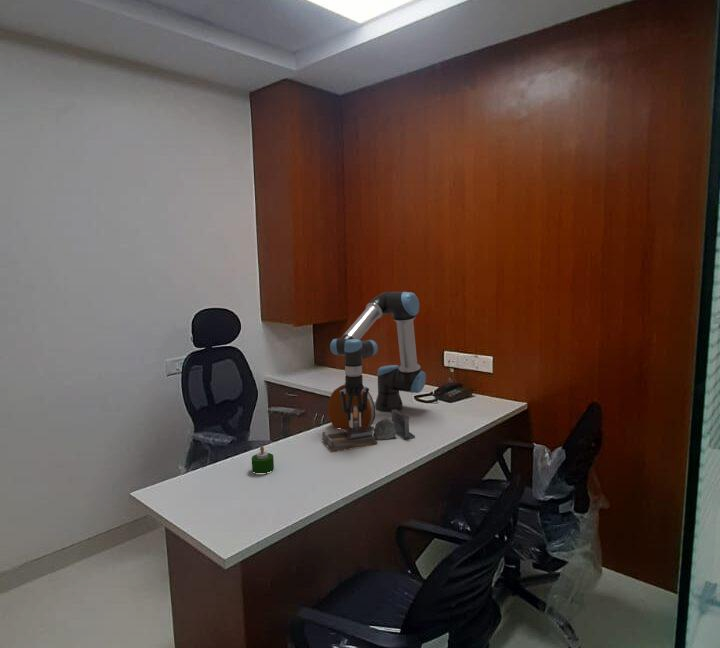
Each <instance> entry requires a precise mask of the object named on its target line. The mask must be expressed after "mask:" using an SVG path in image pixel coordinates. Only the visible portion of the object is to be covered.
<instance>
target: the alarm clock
mask: <svg viewBox="0 0 720 648" xmlns="http://www.w3.org/2000/svg"><path fill="white" fill-rule="evenodd" d="M345 386H346V382H345V381H344V384H342V385H340V386H339V387H337V388H336V389H334V390H333V391H332V393H331V394H330V396H329V398H328V399H329V400H328V403H327V404H328V405H327V407H328V408H327V413H328V416H329V417H328V418H329V421H330V423H331V425H332V426H333V427H334V429H336V428H341V429H340V430H342V429H347V428H351V427H350V426H349V420H348V419H347V413H345V412H344V411H343V409H342V399H341V394H340V392H339V391H340V390H343V389H345ZM360 394H361V402H362V405H363V390H362V391H361V393H360ZM345 397H346V407H347V403H348V393H347V392H346V394H345ZM374 402H375V401H374V399H373V396H372V395H371V393H370V390H369V391H368V395H367V409H366V410H364V412H363V419H361V426H367V427H368V428H370V427H371V426H372V425H373V424H374V422H375V418H376V408H375V403H374ZM352 406H358V403H357V398H356V395H355V396H353V400H352ZM351 409H352V407H351ZM358 411H359V408H358ZM358 427H359V426H358Z"/></svg>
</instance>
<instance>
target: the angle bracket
mask: <svg viewBox="0 0 720 648" xmlns="http://www.w3.org/2000/svg"><path fill="white" fill-rule="evenodd" d="M391 420H392V421H393V422H394V424H395V426H396V427H395V428H396V434H397V435H398V436H400V437H401V438H402V439H404V440H405V441H406V440H411V439H415V438H416V435H414V434H413V433H412V432H410V418H409V416H408V415H405V414H404V413H402V412H401V411H400V410H396V409H393V410H392V411H391Z"/></svg>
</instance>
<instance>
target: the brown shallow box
mask: <svg viewBox="0 0 720 648" xmlns="http://www.w3.org/2000/svg"><path fill="white" fill-rule="evenodd" d="M321 435H322V437H321V438H322V439H321V440H323V441H322V442H323V444H324V443H325V444H326V445H327V446H328V447H327V446H326V445H325V444H324V445H325V446H326V447H327V448H328V449H329V451H330V450H331V451H333V452H338V450H339V451H344V449H346V450H350V448H352V449H356V448H362V447H363V448H364V447H370V446H375V445H378V441H377V439H376V438H375V437H374V436H373V437H367V438H360V439H354V440H348V439H347V438H346V437H345V431H340V432H333V433H329V434H328V433H326V431H322V434H321ZM331 451H330V452H331Z"/></svg>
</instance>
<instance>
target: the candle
mask: <svg viewBox="0 0 720 648" xmlns="http://www.w3.org/2000/svg"><path fill="white" fill-rule="evenodd" d="M259 449H260V451H259V452H257V453H256V454H254V455H252V456H251V470H252V471H253V472H255V473H267V472H270V471H272V470H273V469H274V470H275V465H274V464H275V463H274V462H275V461H274V455H273V453H270V452H268V451H264V450H265V447H264V446H263V445H260V448H259ZM252 471H251V472H252ZM253 472H252V473H253Z"/></svg>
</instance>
